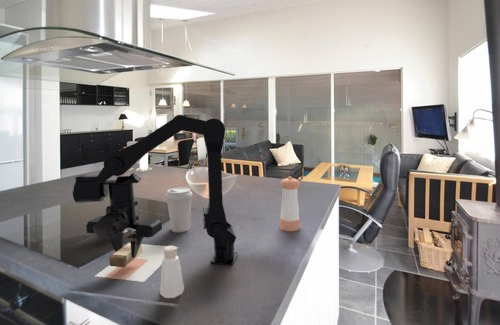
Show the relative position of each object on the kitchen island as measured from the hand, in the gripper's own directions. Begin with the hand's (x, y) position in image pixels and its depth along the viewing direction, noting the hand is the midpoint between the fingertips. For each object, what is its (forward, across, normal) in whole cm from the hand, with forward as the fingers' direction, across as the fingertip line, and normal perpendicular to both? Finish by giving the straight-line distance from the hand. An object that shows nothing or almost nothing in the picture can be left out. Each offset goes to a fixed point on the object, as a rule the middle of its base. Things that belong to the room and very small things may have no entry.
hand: (126, 256), depth 73 cm
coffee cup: (+4, +2, +28) cm, 28 cm away
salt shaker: (+4, +41, +37) cm, 55 cm away
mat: (+4, +1, +4) cm, 6 cm away
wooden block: (+1, 0, 0) cm, 1 cm away
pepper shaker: (+4, +16, -7) cm, 18 cm away
